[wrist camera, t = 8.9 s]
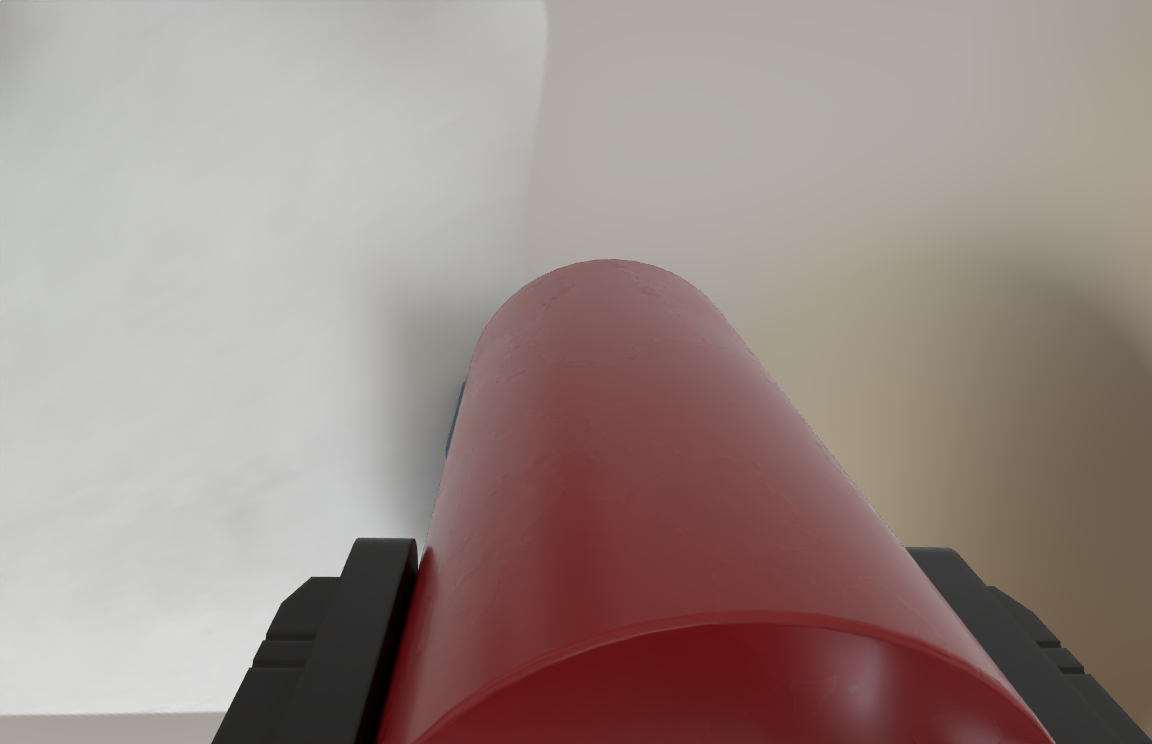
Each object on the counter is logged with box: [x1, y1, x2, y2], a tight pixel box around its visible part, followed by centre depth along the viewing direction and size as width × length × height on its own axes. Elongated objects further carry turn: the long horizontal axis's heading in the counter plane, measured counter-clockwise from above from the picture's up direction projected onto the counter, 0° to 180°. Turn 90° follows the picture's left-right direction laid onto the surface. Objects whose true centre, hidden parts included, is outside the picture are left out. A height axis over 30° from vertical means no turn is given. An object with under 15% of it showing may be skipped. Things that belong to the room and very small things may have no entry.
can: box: [374, 259, 1056, 744], centre depth 12 cm, size 6×6×12 cm
